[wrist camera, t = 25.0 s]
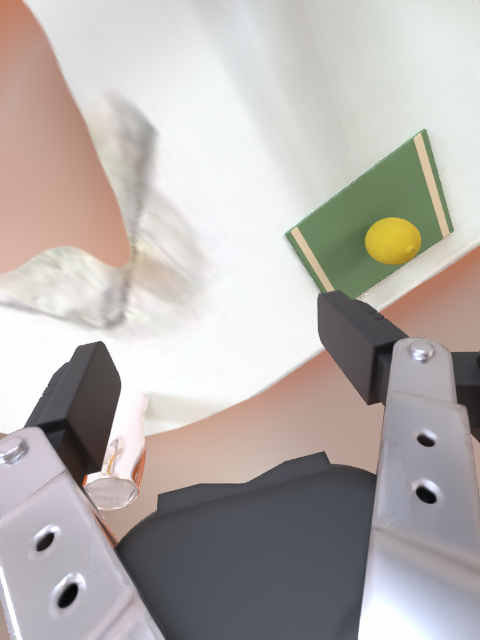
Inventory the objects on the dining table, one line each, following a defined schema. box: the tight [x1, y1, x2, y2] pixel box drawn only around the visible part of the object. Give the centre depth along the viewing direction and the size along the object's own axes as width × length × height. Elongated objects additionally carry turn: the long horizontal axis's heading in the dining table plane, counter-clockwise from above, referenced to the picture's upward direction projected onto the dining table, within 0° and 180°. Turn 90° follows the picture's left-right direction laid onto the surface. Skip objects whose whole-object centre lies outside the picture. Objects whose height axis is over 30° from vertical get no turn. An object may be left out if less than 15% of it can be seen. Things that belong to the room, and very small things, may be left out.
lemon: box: [365, 217, 421, 265], centre depth 37 cm, size 6×6×8 cm
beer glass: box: [83, 388, 149, 511], centre depth 41 cm, size 7×7×15 cm
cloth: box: [285, 129, 454, 300], centre depth 40 cm, size 15×20×1 cm
